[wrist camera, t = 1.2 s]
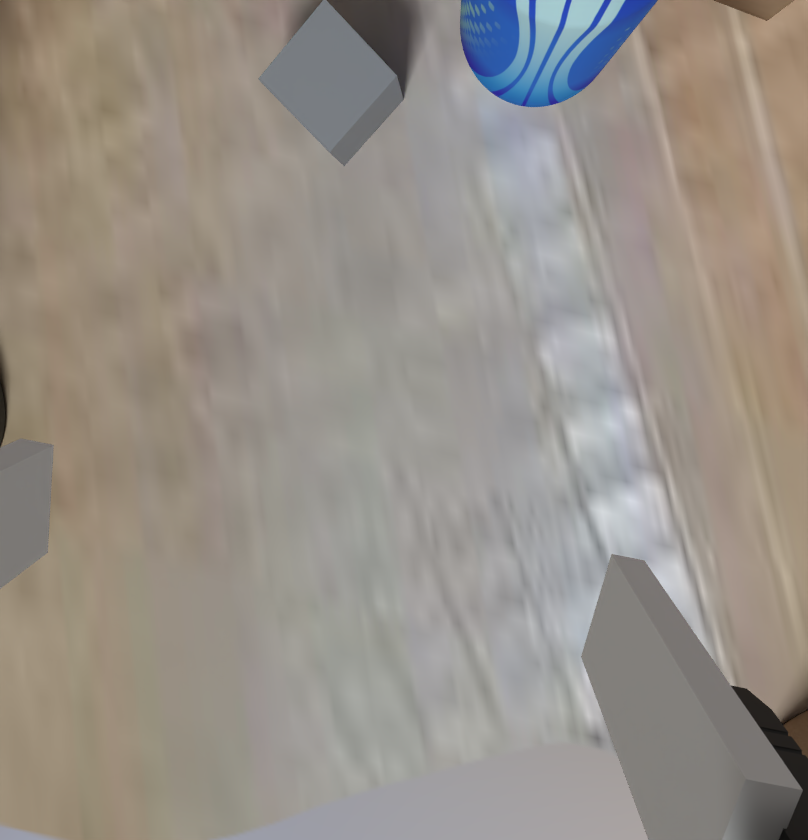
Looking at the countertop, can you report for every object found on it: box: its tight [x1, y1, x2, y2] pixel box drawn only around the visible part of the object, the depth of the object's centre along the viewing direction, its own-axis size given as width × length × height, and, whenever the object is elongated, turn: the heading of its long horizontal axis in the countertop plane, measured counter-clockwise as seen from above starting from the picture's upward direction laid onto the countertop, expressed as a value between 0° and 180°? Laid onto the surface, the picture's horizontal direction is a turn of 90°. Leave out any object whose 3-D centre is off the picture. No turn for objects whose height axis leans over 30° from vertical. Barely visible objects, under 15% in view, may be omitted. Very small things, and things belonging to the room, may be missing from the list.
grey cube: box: [259, 0, 404, 166], centre depth 35 cm, size 5×5×5 cm
